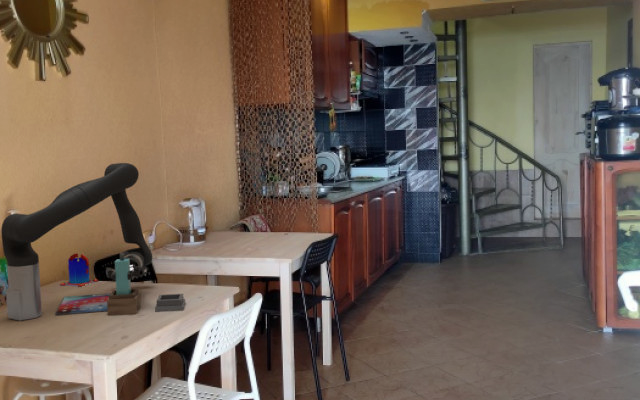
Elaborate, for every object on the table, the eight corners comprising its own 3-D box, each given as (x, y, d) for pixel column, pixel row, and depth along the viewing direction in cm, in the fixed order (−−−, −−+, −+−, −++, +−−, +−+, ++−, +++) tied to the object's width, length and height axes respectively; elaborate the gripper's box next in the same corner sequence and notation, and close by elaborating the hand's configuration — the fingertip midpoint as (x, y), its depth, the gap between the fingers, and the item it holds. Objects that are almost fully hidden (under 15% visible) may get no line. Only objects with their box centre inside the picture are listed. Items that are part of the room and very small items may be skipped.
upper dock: (136, 313, 207) (135, 295, 207) (107, 315, 206) (106, 296, 206) (140, 306, 216) (139, 288, 216) (113, 307, 215) (112, 289, 214)
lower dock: (183, 310, 211) (182, 300, 210) (155, 311, 210) (154, 301, 209) (185, 303, 220) (184, 293, 219) (158, 304, 219) (158, 294, 218)
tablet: (119, 294, 235) (119, 292, 235) (116, 312, 211) (116, 309, 211) (63, 298, 230) (63, 296, 230) (54, 317, 206) (54, 314, 206)
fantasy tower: (101, 280, 256) (100, 251, 254) (82, 287, 244) (81, 256, 243) (76, 279, 259) (74, 250, 258) (56, 286, 248) (55, 255, 246)
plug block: (129, 297, 209) (127, 253, 207) (116, 297, 209) (114, 254, 207) (131, 294, 213) (129, 251, 211) (118, 294, 212) (116, 252, 211)
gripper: (108, 256, 223) (98, 266, 206) (150, 254, 225) (143, 264, 208) (109, 277, 224) (99, 289, 207) (151, 275, 225) (144, 287, 208)
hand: (121, 277), depth 207 cm, fingers closed on plug block, 4 cm apart
